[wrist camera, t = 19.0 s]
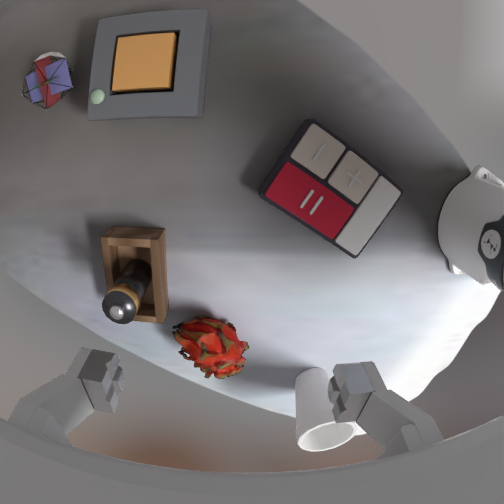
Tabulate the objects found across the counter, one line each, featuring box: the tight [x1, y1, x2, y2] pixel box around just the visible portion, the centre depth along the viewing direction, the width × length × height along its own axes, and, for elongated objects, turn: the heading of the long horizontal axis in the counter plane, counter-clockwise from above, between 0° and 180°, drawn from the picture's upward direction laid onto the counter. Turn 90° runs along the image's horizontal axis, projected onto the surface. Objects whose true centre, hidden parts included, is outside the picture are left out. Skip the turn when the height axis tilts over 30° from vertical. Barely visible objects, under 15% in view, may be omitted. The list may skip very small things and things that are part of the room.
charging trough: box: [101, 227, 169, 324], centre depth 38 cm, size 8×12×4 cm, turn 175°
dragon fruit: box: [173, 316, 249, 379], centre depth 41 cm, size 8×8×12 cm
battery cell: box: [102, 259, 152, 324], centre depth 34 cm, size 4×4×10 cm
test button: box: [112, 33, 179, 93], centre depth 25 cm, size 6×6×3 cm
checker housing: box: [87, 9, 212, 121], centre depth 27 cm, size 12×12×6 cm
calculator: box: [259, 119, 403, 258], centre depth 35 cm, size 11×4×15 cm
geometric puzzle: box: [22, 52, 73, 110], centre depth 25 cm, size 7×7×8 cm
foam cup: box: [295, 368, 357, 451], centre depth 44 cm, size 10×9×13 cm
